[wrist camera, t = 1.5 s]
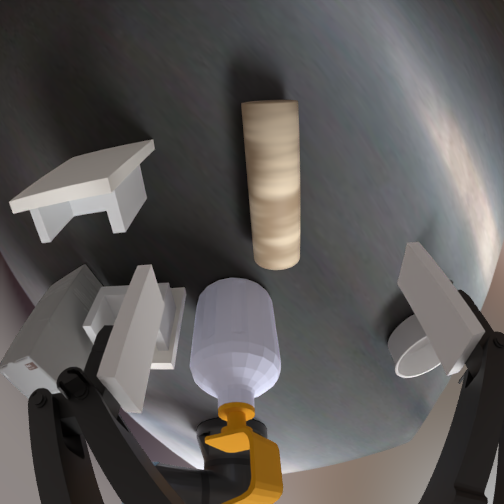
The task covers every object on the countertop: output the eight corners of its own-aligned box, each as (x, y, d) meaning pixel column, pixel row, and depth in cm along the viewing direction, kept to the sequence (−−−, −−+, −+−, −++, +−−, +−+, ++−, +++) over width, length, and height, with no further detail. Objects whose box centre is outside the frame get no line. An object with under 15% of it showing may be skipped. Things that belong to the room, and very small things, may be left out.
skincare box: (78, 316, 37) (40, 409, 24) (46, 280, 33) (-8, 370, 20) (118, 298, 35) (80, 406, 22) (83, 256, 32) (23, 360, 18)
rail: (281, 239, 33) (309, 258, 30) (245, 253, 31) (270, 275, 28) (275, 99, 25) (309, 101, 21) (231, 103, 23) (261, 105, 20)
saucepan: (460, 248, 34) (482, 272, 29) (436, 341, 45) (448, 364, 40) (392, 267, 35) (410, 296, 30) (380, 359, 46) (390, 385, 41)
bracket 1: (72, 157, 25) (8, 201, 16) (153, 139, 25) (107, 177, 16) (83, 196, 28) (29, 253, 18) (161, 183, 28) (125, 242, 18)
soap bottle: (182, 297, 35) (154, 508, 15) (245, 262, 33) (261, 504, 12) (225, 338, 40) (226, 521, 19) (285, 311, 37) (318, 509, 17)
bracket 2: (186, 293, 35) (174, 369, 26) (118, 297, 35) (92, 366, 26) (178, 262, 33) (160, 337, 23) (107, 268, 33) (73, 337, 23)
